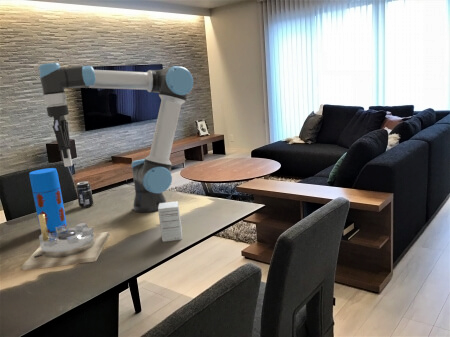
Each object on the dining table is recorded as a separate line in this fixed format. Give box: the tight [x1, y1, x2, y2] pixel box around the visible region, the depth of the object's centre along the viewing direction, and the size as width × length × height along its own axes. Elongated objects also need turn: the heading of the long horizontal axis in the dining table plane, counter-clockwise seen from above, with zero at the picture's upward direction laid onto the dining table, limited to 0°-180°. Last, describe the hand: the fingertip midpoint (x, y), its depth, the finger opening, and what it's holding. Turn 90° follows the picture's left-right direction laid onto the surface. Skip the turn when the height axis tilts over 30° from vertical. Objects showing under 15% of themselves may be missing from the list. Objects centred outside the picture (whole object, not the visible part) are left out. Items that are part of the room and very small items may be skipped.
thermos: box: [28, 167, 67, 233], centre depth 177 cm, size 11×11×25 cm
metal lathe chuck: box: [37, 214, 95, 257], centre depth 150 cm, size 18×18×14 cm
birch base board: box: [21, 231, 110, 271], centre depth 151 cm, size 24×24×2 cm
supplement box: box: [157, 200, 183, 242], centre depth 154 cm, size 7×7×13 cm
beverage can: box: [75, 180, 94, 209], centre depth 207 cm, size 7×7×12 cm
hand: (68, 165), depth 164 cm, fingers closed
